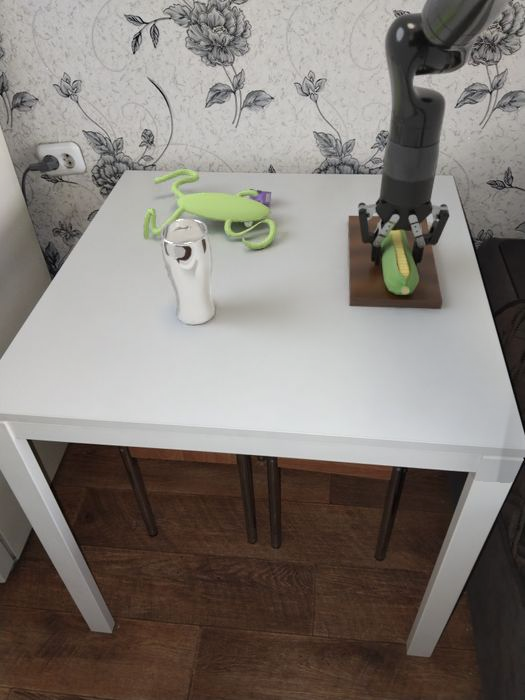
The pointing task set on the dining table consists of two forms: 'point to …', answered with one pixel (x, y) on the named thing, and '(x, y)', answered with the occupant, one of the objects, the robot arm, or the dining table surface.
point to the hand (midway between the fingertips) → (395, 262)
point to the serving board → (370, 279)
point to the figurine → (217, 208)
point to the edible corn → (398, 264)
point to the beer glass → (189, 268)
